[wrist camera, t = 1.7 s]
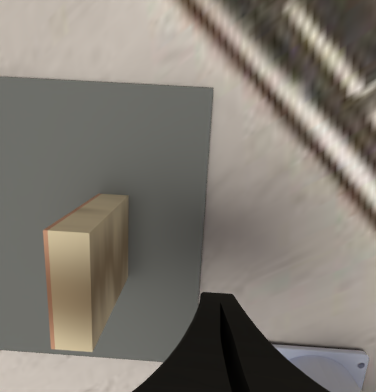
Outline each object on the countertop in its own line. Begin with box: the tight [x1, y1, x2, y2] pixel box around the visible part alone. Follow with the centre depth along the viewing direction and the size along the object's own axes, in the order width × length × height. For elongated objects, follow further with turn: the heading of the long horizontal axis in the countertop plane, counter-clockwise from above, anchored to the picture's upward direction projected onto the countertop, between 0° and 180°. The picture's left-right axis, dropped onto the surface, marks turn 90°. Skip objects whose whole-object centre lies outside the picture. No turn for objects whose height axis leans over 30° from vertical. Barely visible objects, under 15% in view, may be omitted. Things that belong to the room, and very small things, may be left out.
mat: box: [0, 77, 213, 362], centre depth 20 cm, size 20×16×1 cm
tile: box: [43, 194, 129, 352], centre depth 16 cm, size 6×2×7 cm, turn 177°
